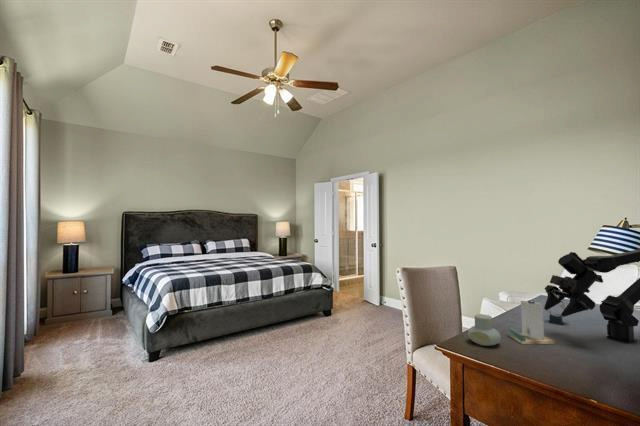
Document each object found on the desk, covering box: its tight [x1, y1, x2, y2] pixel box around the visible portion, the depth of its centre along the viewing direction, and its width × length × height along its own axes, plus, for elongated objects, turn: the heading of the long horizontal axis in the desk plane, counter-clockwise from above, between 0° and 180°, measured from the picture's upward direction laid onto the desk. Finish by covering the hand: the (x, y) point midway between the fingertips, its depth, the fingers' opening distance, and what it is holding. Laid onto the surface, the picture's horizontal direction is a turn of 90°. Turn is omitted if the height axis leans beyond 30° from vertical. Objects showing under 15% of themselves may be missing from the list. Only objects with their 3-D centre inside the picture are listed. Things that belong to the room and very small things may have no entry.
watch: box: [544, 299, 567, 326], centre depth 138 cm, size 6×8×11 cm
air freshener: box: [467, 313, 502, 347], centre depth 115 cm, size 11×8×10 cm
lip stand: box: [506, 327, 556, 345], centre depth 118 cm, size 12×9×3 cm
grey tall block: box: [520, 300, 545, 339], centre depth 118 cm, size 5×5×14 cm
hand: (553, 312), depth 118 cm, fingers open, 9 cm apart
